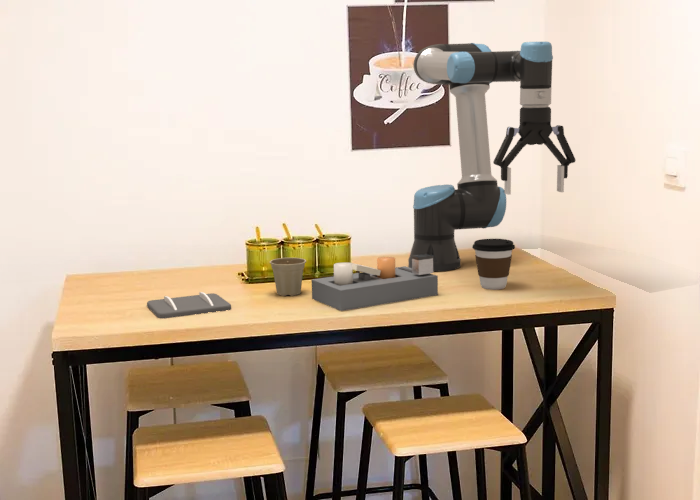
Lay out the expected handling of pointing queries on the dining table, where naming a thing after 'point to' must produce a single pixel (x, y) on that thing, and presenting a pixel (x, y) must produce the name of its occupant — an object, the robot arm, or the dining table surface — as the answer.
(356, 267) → the rocker
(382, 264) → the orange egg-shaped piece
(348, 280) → the button white
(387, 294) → the console
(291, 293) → the flower pot
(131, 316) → the dining table surface
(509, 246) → the coffee cup
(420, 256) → the fader
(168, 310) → the grey flat slab
